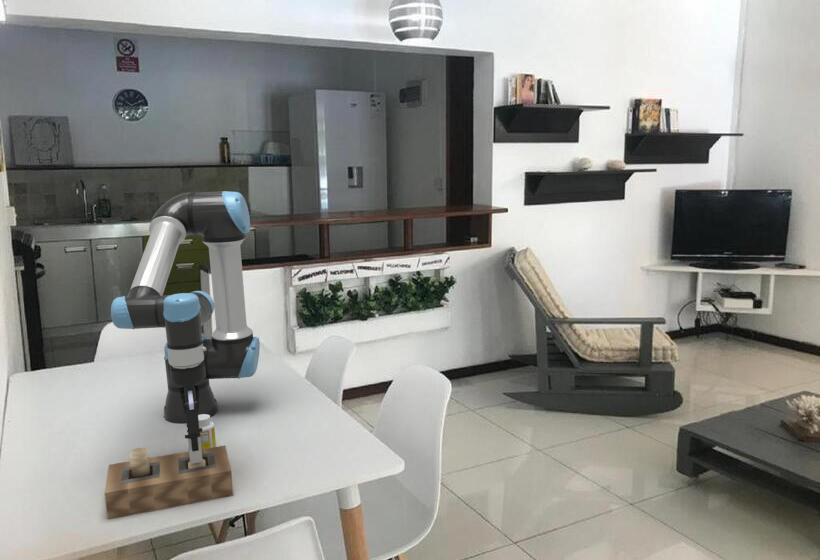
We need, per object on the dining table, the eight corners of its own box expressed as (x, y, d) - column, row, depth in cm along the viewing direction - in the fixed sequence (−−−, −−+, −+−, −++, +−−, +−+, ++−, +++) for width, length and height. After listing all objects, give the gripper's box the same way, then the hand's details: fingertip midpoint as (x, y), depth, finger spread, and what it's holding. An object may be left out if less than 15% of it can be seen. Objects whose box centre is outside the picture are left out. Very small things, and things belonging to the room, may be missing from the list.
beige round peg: (131, 482, 151) (129, 456, 150) (132, 474, 154) (129, 449, 153) (150, 478, 152) (147, 453, 151) (150, 471, 156) (147, 446, 154)
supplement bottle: (208, 447, 178) (205, 411, 176) (221, 453, 175) (217, 416, 173) (189, 455, 174) (186, 417, 172) (202, 461, 171) (198, 423, 169)
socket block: (107, 519, 145) (104, 493, 144) (111, 488, 158) (108, 464, 157) (233, 495, 154) (231, 470, 153) (227, 468, 167) (225, 445, 166)
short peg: (190, 491, 156) (188, 467, 155) (190, 484, 159) (187, 460, 158) (208, 488, 157) (205, 464, 156) (206, 481, 160) (204, 457, 159)
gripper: (206, 370, 147) (215, 471, 152) (202, 353, 159) (211, 447, 164) (169, 374, 145) (179, 477, 150) (168, 357, 157) (178, 452, 162)
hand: (196, 461), depth 157 cm, fingers closed
